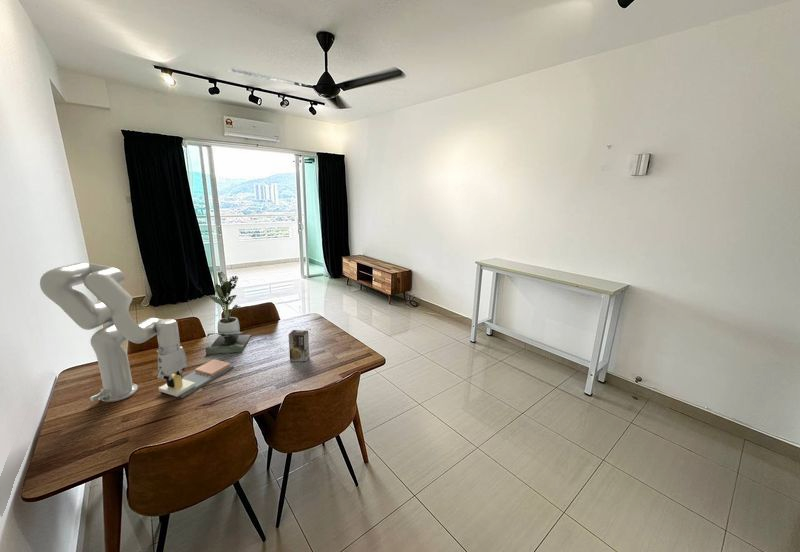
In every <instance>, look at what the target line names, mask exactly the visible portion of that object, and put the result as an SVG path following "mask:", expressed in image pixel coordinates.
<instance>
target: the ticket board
mask: <svg viewBox="0 0 800 552" xmlns="http://www.w3.org/2000/svg"><path fill="white" fill-rule="evenodd" d="M232 369H234V365H233V364H231V363H229V362H226V361H222V360H218V359H215V358H213V359H212V360H210V361H207V362H205V363H204V364H202V365H200V366H198V367H195V369H194V371H192V372H190V373H188V374H186V375H184V376H182V379H185V380H188V381H191V382H195V384H196V386H194V387H193V388H191V389H189V390H188V391H186V392H184V393H182V394H181V395H179V396H177V397H178V398H181V399H182V398H185V397H186V396H188V395H190V394H192V393H193V392H195V391H197V390H198V389H200V388H202V387H203V386H206V385H207V384H208V383H209V384H210V382H212V381H214V380H215V379H217V378H219V377H221V376H222V375H224V374H226V373H227V372H228V371H230V370H232Z"/></svg>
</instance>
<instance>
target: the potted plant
mask: <svg viewBox="0 0 800 552" xmlns="http://www.w3.org/2000/svg"><path fill="white" fill-rule="evenodd" d="M217 277H218V281H219V284H218V283H216V284H215V290H216V294H217V296H209V298H210V299H211V300H212V301H213V303H216V304H218V305H220V307H221V309H222V311H223V316H224V318H220V319H218V321H217V332H209V333H207V335H206V337H207V338H208V337H209V336H213V335H218V337H217V338H215V340H214V341H213V343H212V344H211V345H210V346H207V347H205V354H206V355H216V354H218V353H221V354H234V353H233V352H239V353H243V352H244V350H245V348H246V346H247V345H248V343H249V341H250V339H251V338H250V336H251V337H252V334H244V332H243V331H240V321H239V319H238V318H237V317H235V316H231V314H232V312H233V311H234V310H238V309H239V308H241V305H238V304H234V305H233V306H232V308H231V309H230V312H229V306H230V305H231V304H232V303H233V301H234V300H235V299H236V297H237V296H238V295H236V294H234V295H231V292H232V290H235V289H236V286H237V282H238V281H239V277H237V275H235V276H234V275H232V276H231V277H229V280H228V277H227V276H225V274H224V272H223V271H218V272H217ZM223 279H224V280H223ZM249 338H250V339H249ZM248 340H249V341H248ZM247 342H248V343H247ZM246 344H247V345H246ZM242 351H243V352H242Z"/></svg>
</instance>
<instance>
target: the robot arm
mask: <svg viewBox="0 0 800 552" xmlns="http://www.w3.org/2000/svg"><path fill="white" fill-rule="evenodd" d="M125 282H126V276H125V274H124V272H123V271H122V270H120V269H118V268H116V267H113V266H110V265H109V266H108V265H104V264H97V263H91V262H83V261H82V262H76V263H72V264H67V265H62V266H59V267H55V268H53V269H50V270H48V271H46V272H45V273H44V274H42V276H41V277H40V280H39V288H40V290H41V292H42V293H43V294H44V295H45V297H47V298H48V299H49V300H50V301H52V302H53V303H54V304H56V305H57V306H58V307H59V308H60V309H62V310H63V312H64V313H65V314H66V315H67V316H68V317H69V318H70V319H71V320H72V321H73V322H74V323H75V324H76V325H77V326H79V328H81V329H82V330H86V331H91V330H94V329H96V328H99V327H101V326H103V325H106V326H104V327H102V328H101V329H98V330H97V331H95V332H94V333H93V334H92V336H91V337H90V346H91V347H92V349H93V351H94V353H95V356H96V360H97V364H98V368H99V373H100V378H101V382H102V388H100V391H99V392H98V393H97V394H94V395H92V396H90V397H89V400H90V401H91V402H94V401H95V400H98V401H102V402H104V403H110V402H111V403H113V402H118V401H122V400H124V399H128V398H129V397H131V396H132V395H135V394H136V393H137V392H138V390H139V386H138V385H137V384H136V383H133V379H132V378H133V377H132V373H131V367H130V366H131V365H130V361H129V356H128V353H127V351H126V349H124V348H123V346H122V345H123V344H124V343H126V342H127V341H129V342H131V343H134V344H142V343H145V342H147V341H148V340H150V339H151V338H153V337H155V336H157V343H158V349H156V353H158V354H157V370H158V374H157V377H156V378H157V379H160V380H166V384H167V386H168V387H172V388H173V387H174V381H173V379H172V374H173V373H174V374H177V375H180V376H181V377H182V378H183V373H184V370H185V368H186V367H187V366H188V365H189V363H188V360H187V355H186V352H185V349H184V348H183V346H182V345H181V341H180V333H179V332H180V331H179V326H178V321H177V320H176V319H173V318H165V319H163V318H157V317H149V318H147V319H144V320H143V321H141V322H139V323H136V321H134V320H133V319H132V317H131V315H130V312H129V311H130V310H129V309H130V305H131V303H132V301H133V296H132V295H131V294H130V293H129V292H128V291H127V290H126V289H124V288H123V286H122V285H123V284H124V283H125ZM82 284H83V285H84V286H85V288H86V289H87V290H89V292H90V293H91V294H93V295H94V296H95V298H97V299H98V300H99V301H97V302H93V301H92V300H91V299H90V298H88V296H87V295H86V294H84V293H83V292H82V291H80V290H76V289H74V288H73V287H75V286H78V285H82Z"/></svg>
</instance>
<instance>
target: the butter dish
mask: <svg viewBox="0 0 800 552" xmlns="http://www.w3.org/2000/svg"><path fill="white" fill-rule="evenodd" d="M182 378H183V376H182V377H181V376H180V375H177V374H176V373H173V374H172V379H173V381H174V387H173V388H172V387H168V386H167V383H165V384H163V385H161V386H159V387H158V391H159V392H161V393H165V394H168V395H170V396H173V397H178V396H179V395H181V394H182V393H184V392H186V391H188V390H189V389H191V388H193V387H194V386H196V384H195V382H191V381H188V380H185V379H182Z"/></svg>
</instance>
